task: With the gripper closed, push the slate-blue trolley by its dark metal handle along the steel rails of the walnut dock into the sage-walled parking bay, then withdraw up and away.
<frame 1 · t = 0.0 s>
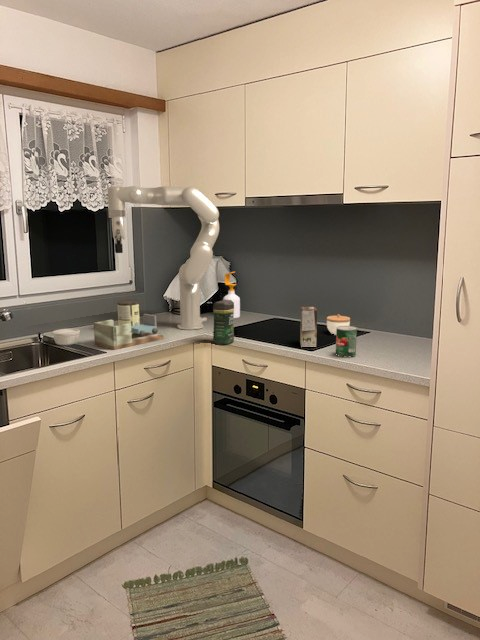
hand: (118, 252, 247), 37 cm above the worktop, tool pointing down, fingers open, 9 cm apart
canned tomato: (345, 355, 211), on the worktop
coffee can: (129, 330, 256), on the worktop
coffee jar: (224, 343, 231), on the worktop
coffee box: (307, 345, 226), on the worktop
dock: (129, 341, 233), on the worktop
lidded jar: (337, 334, 247), on the worktop
trolley: (141, 324, 237), point 6 cm above the worktop, slide at 0.0 cm
ramekin: (67, 343, 232), on the worktop
soap bottle: (231, 317, 288), on the worktop
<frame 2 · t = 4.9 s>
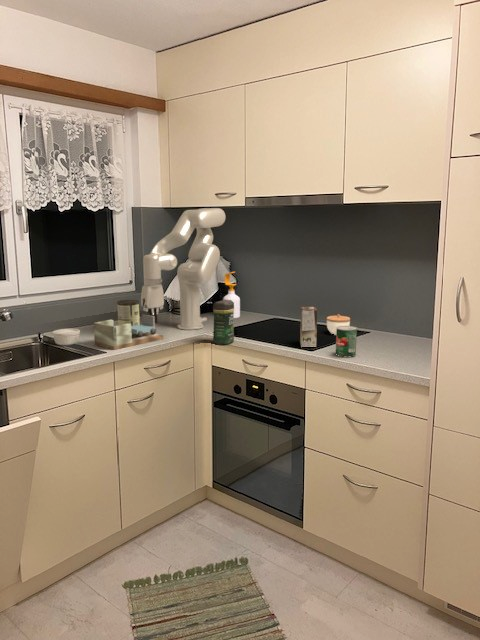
hand: (153, 322, 242), 6 cm above the worktop, tool pointing down, fingers closed
trolley: (140, 325, 236), point 6 cm above the worktop, slide at 1.0 cm, touching gripper
everything else where it was.
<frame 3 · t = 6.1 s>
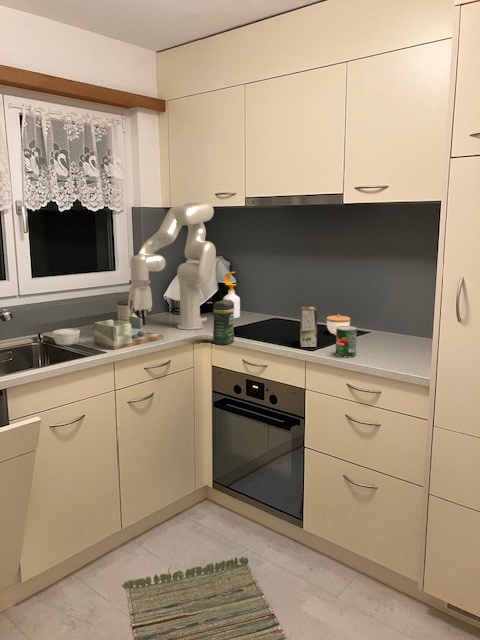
hand: (141, 325, 237), 6 cm above the worktop, tool pointing down, fingers closed
trolley: (127, 327, 231), point 6 cm above the worktop, slide at 7.8 cm, touching gripper
everything else where it was.
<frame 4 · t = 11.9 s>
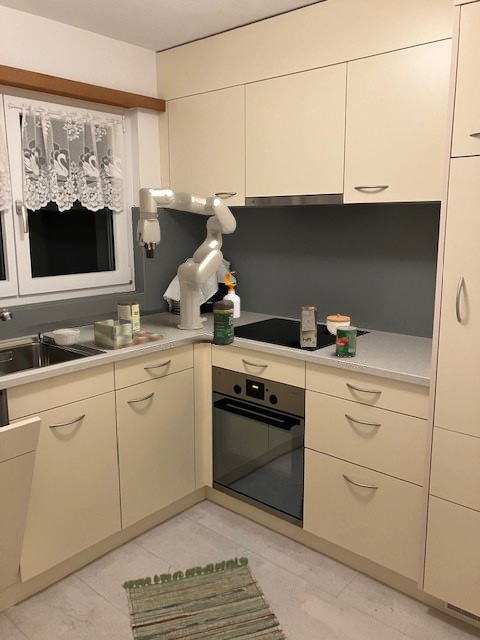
hand: (150, 258, 241), 35 cm above the worktop, tool pointing down, fingers closed
trolley: (117, 329, 228), point 6 cm above the worktop, slide at 13.0 cm
everything else where it was.
at the end: trolley slide at 13.0 cm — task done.
